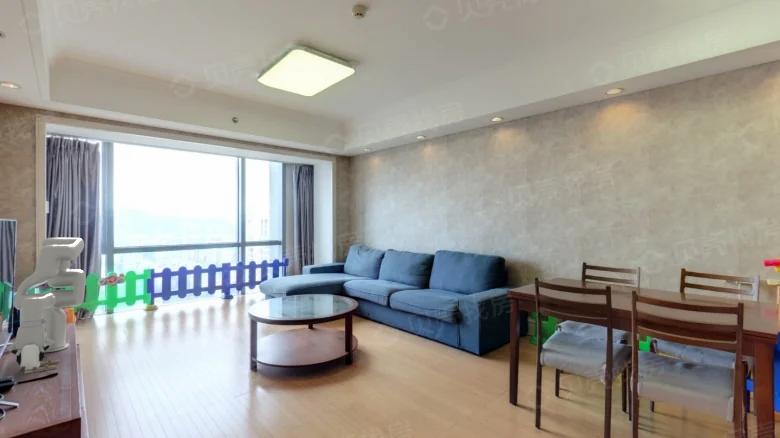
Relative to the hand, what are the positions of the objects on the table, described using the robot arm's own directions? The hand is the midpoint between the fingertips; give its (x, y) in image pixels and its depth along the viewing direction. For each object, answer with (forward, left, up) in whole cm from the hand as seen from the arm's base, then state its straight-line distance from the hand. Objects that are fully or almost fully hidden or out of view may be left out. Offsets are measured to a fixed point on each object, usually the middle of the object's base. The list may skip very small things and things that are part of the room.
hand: (30, 361), depth 170 cm
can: (0, 0, -3) cm, 3 cm away
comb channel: (0, +4, -4) cm, 5 cm away
